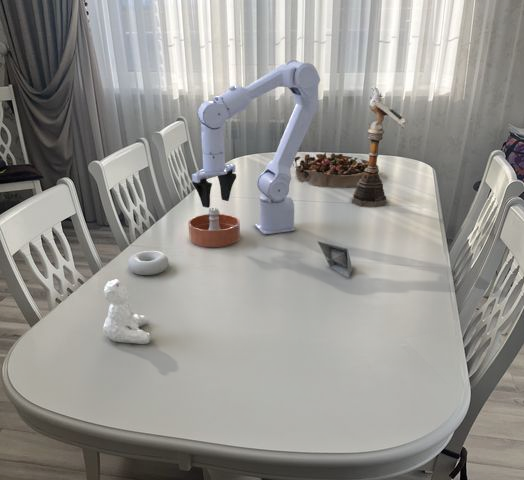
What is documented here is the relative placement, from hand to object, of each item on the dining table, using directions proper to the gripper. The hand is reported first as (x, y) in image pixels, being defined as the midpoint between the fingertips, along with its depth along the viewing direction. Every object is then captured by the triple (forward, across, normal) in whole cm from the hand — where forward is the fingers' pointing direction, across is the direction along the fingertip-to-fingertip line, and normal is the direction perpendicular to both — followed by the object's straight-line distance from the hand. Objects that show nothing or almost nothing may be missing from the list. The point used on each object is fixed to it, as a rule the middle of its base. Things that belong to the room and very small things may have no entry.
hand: (215, 203), depth 150 cm
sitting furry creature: (+10, -52, -25) cm, 58 cm away
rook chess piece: (+9, -2, -1) cm, 9 cm away
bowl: (+9, -2, -1) cm, 10 cm away
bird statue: (+10, +57, -18) cm, 61 cm away
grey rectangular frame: (+10, +2, -38) cm, 39 cm away
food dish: (+10, +77, +11) cm, 78 cm away
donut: (+10, -27, -3) cm, 29 cm away
